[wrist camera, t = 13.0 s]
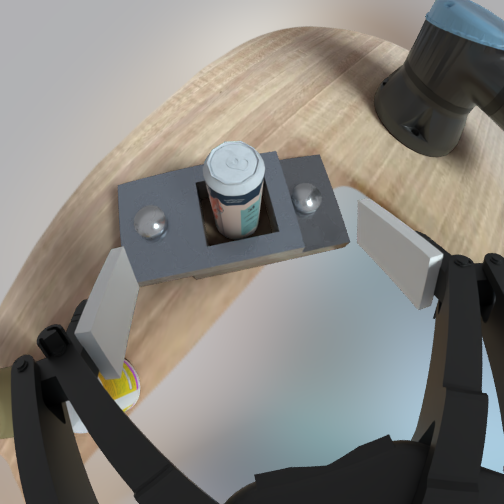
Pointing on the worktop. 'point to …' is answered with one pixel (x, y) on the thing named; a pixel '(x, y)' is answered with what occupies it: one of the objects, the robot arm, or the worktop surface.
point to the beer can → (235, 188)
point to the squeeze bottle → (5, 404)
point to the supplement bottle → (113, 394)
